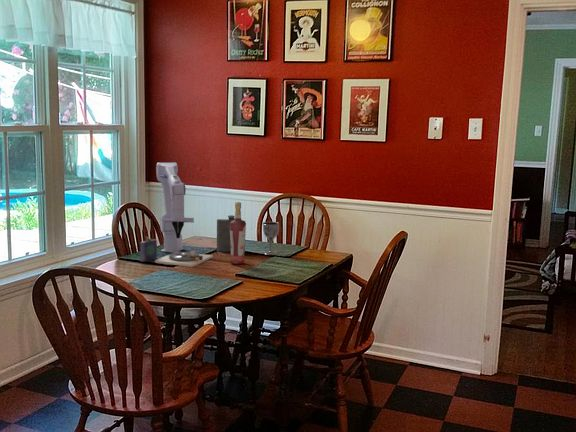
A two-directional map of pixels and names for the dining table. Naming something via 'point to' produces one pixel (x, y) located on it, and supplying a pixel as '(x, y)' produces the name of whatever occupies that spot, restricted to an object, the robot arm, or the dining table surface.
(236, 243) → the liquor
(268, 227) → the wine glass
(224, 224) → the flask
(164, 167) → the robot arm
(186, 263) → the base board
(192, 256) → the flange plate
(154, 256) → the blue grey box
